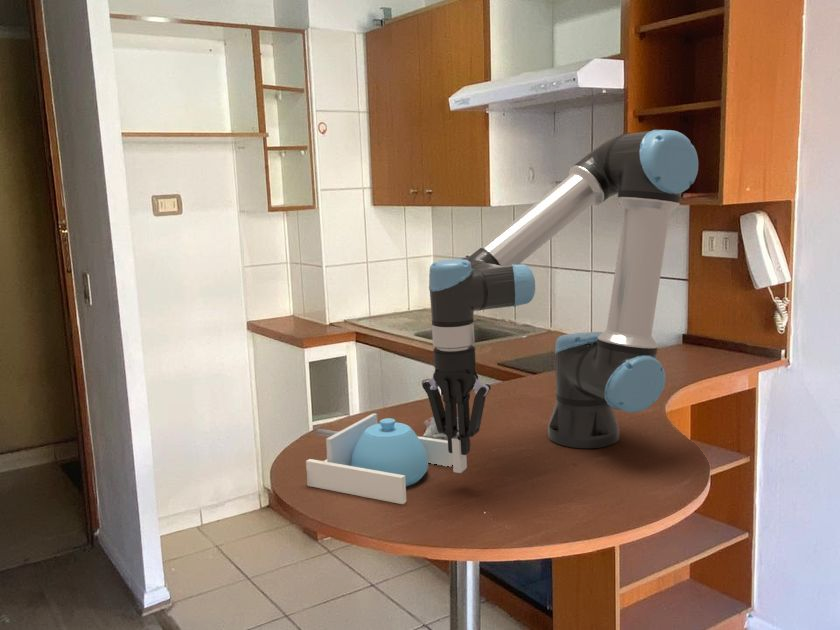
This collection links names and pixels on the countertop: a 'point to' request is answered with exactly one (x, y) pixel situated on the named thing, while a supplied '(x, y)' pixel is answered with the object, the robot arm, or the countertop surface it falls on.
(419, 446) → the sugar bowl
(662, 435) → the countertop surface
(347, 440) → the pusher
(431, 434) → the packaged food
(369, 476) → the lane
